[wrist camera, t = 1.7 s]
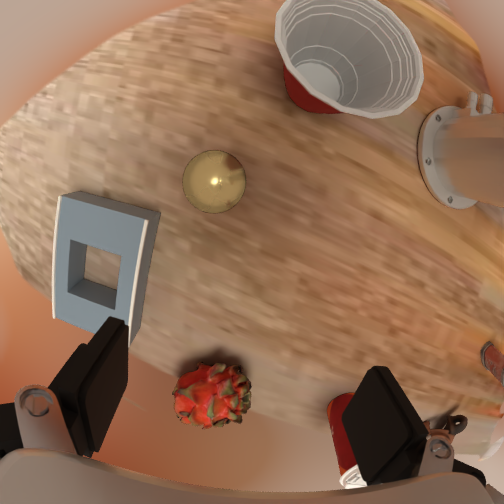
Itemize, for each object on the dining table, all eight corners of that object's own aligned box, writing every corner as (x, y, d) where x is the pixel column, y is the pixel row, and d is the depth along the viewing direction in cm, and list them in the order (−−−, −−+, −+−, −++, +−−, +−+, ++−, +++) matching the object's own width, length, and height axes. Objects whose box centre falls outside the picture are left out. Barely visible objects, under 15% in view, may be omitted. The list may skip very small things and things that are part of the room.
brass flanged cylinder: (205, 149, 27) (192, 143, 19) (250, 161, 27) (254, 160, 19) (193, 193, 28) (175, 204, 20) (237, 205, 28) (235, 221, 21)
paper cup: (310, 417, 37) (329, 494, 24) (338, 382, 35) (370, 462, 22) (350, 424, 38) (375, 492, 25) (379, 391, 37) (415, 460, 23)
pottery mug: (425, 442, 44) (423, 468, 37) (405, 420, 46) (402, 446, 39) (471, 415, 39) (475, 441, 31) (453, 390, 41) (457, 416, 34)
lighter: (495, 359, 37) (523, 387, 28) (484, 371, 38) (511, 400, 28) (491, 337, 36) (523, 366, 26) (478, 350, 36) (510, 382, 27)
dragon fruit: (256, 349, 35) (191, 382, 39) (211, 339, 29) (144, 376, 32) (279, 411, 30) (206, 436, 33) (235, 417, 24) (158, 440, 27)
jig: (79, 191, 27) (58, 195, 23) (160, 213, 28) (147, 220, 24) (69, 302, 31) (52, 317, 27) (140, 327, 32) (128, 347, 28)
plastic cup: (382, 87, 25) (448, 57, 13) (325, 157, 27) (378, 154, 16) (303, 23, 23) (334, -39, 11) (238, 90, 25) (236, 40, 14)
